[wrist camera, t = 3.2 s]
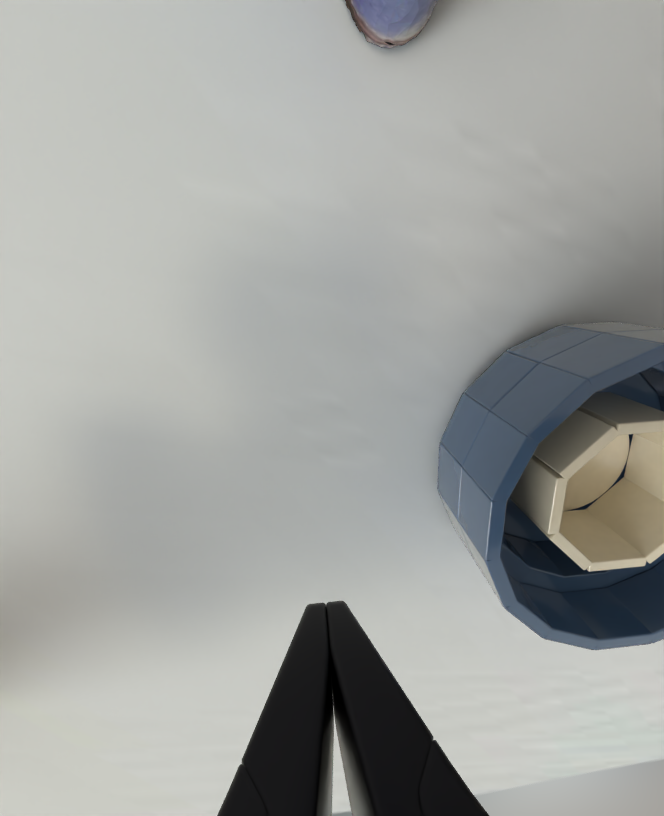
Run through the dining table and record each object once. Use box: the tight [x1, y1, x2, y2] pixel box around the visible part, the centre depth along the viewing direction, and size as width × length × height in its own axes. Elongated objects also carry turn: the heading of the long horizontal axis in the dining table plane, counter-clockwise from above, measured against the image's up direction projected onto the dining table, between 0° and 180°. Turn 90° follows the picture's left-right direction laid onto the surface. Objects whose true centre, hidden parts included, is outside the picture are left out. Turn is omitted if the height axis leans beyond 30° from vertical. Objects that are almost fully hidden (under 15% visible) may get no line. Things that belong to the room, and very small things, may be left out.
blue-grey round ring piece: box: [437, 322, 664, 650], centre depth 14 cm, size 11×11×5 cm
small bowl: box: [509, 392, 664, 572], centre depth 14 cm, size 6×6×3 cm
